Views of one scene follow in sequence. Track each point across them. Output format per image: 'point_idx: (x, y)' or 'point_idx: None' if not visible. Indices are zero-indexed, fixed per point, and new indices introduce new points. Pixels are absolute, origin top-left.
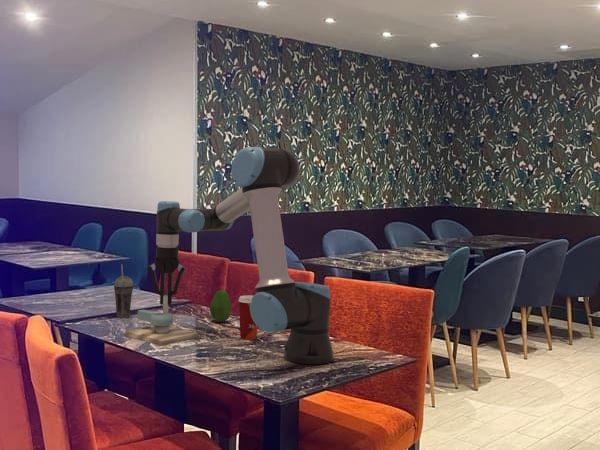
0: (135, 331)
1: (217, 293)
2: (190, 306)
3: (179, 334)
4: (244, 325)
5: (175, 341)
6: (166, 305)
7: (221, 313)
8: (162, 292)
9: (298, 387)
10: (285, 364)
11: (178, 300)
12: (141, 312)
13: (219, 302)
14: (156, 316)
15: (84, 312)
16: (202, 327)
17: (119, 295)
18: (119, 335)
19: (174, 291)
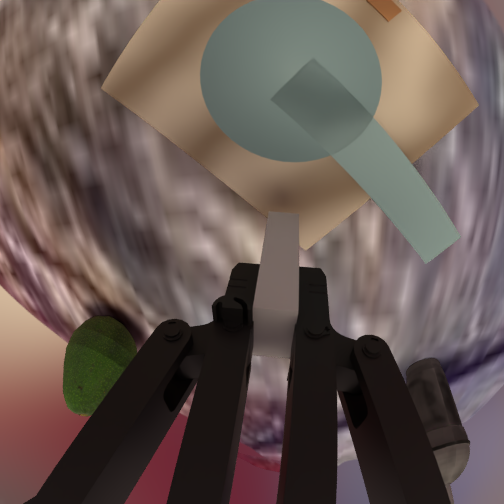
0: (435, 93)
1: (85, 401)
2: (241, 433)
3: (181, 31)
4: None
5: None
6: (270, 251)
7: (87, 328)
8: (307, 344)
9: None
10: None
11: (273, 454)
12: (442, 207)
13: (80, 363)
14: (332, 19)
15: (488, 383)
16: (140, 259)
17: (454, 418)
18: (487, 111)
19: (171, 342)
